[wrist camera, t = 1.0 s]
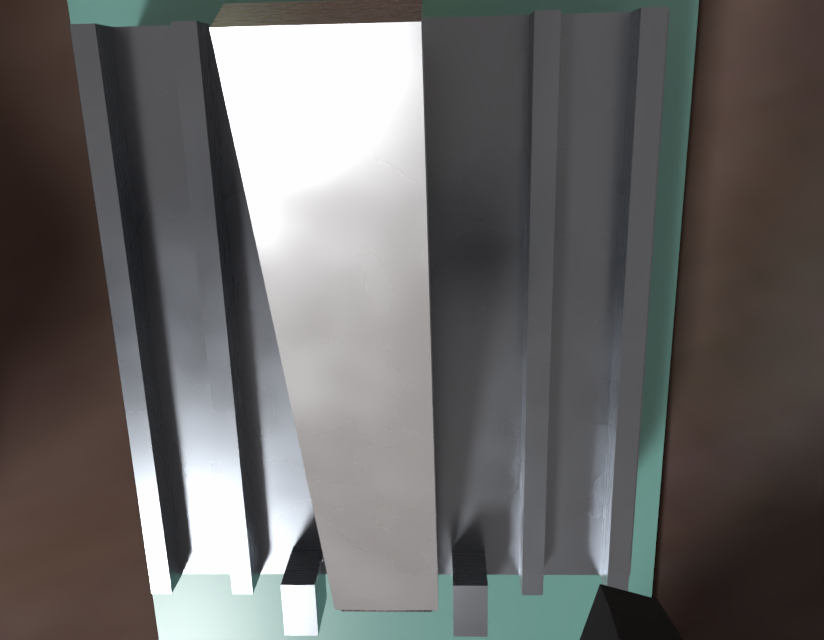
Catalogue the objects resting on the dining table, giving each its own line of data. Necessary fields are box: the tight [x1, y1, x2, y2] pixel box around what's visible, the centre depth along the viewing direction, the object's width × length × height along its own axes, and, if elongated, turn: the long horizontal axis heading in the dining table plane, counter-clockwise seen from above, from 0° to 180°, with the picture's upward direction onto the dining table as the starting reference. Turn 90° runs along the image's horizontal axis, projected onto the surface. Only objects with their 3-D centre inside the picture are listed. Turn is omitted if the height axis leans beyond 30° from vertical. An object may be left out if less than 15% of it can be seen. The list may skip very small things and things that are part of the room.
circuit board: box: [67, 0, 699, 640], centre depth 20 cm, size 15×24×1 cm, turn 1°
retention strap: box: [210, 0, 438, 612], centre depth 14 cm, size 14×2×1 cm, turn 1°
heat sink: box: [70, 7, 669, 637], centre depth 17 cm, size 12×17×5 cm
